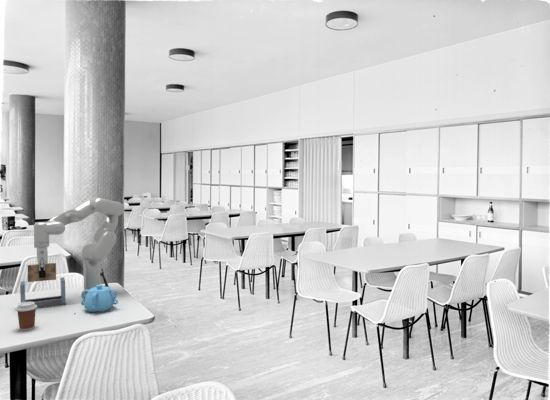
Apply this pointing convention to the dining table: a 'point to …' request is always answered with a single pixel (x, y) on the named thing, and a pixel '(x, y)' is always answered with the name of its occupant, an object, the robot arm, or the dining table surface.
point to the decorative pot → (99, 299)
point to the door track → (47, 300)
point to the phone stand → (104, 278)
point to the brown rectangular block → (34, 270)
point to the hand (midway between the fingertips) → (42, 276)
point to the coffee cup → (26, 315)
